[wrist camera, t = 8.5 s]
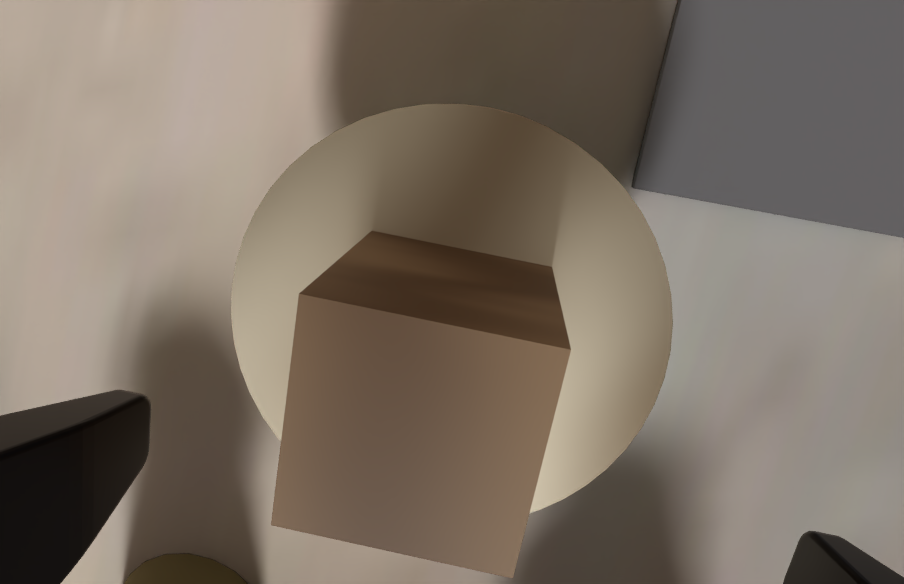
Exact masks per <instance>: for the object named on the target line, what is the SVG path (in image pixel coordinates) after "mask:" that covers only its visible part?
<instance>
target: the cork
mask: <svg viewBox="0 0 904 584" xmlns="http://www.w3.org/2000/svg"><path fill="white" fill-rule="evenodd" d="M125 584H247V583H246V582H245V581H244V580H243V579H242V578H241V577H240V576H239V575H238V574H237V573H236V572H235V571H233V570H231V569H229V568H227V567H225V566H224V565H222V564H220V563H218V562H216V561H214V560H212V559H208V558H204V557H200V556H196V555H192V554H165V555H162V556H159V557H157V558H154V559H151V560H148V561H145V562H144V563H143V564H142V565H140V566H139V567H138V568H137V569H136V570H134V571H133V572H132V573H131V574H130V575H129V577H128V579H127V580H126V582H125Z"/></svg>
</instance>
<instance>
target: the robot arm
mask: <svg viewBox="0 0 904 584" xmlns="http://www.w3.org/2000/svg"><path fill="white" fill-rule="evenodd" d="M150 418H151V404H150V400H149V399H148V397H147V396H146V395H143V394H139V393H134V392H129V391H124V390H114V391H110V392H105V393H101V394H96V395H92V396H87V397H83V398H78V399H73V400H69V401H64V402H60V403H55V404H51V405H46V406H42V407H37V408H33V409H28V410H24V411H19V412H14V413H10V414H5V415H1V416H0V584H60V583H61V582H62V581H63V580H64V579H65V577H66V576H67V575H68V574H69V573H70V571H71V570H72V569H73V568H74V566H75V565H76V564H77V563H78V561H79V560H80V559H81V557H82V556H83V555H84V553H85V552H86V551H87V549H88V548H89V546H90V545H91V544H92V542H93V541H94V539H95V538H96V536H97V535H98V533H99V532H100V530H101V529H102V527H103V526H104V524H105V523H106V521H107V520H108V518H109V517H110V515H111V514H112V512H113V511H114V509H115V508H116V506H117V505H118V503H119V502H120V500H121V499H122V497H123V496H124V494H125V493H126V491H127V490H128V488H129V487H130V485H131V484H132V482H133V481H134V479H135V478H136V476H137V475H138V473H139V472H140V470H141V469H142V467H143V466H144V464H145V462H146V459H147V456H148V452H149V443H150ZM783 584H904V577H902V576H901V575H899V574H897V573H896V572H894V571H893V570H891V569H890V568H888V567H887V566H885V565H883V564H882V563H880V562H879V561H877V560H876V559H874V558H873V557H871V556H869V555H868V554H866V553H865V552H863V551H862V550H860V549H859V548H857V547H856V546H854V545H852V544H851V543H849V542H848V541H846V540H845V539H843V538H841V537H839V536H835V535H831V534H826V533H821V532H816V531H808V532H806V533H804V534H803V535H802V536H801V538H800V540H799V542H798V545H797V547H796V550H795V552H794V555H793V558H792V560H791V563H790V565H789V568H788V571H787V573H786V576H785V579H784V582H783Z"/></svg>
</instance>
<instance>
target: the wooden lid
mask: <svg viewBox="0 0 904 584" xmlns="http://www.w3.org/2000/svg"><path fill="white" fill-rule="evenodd" d="M231 321H232V330H233V338H234V345H235V349H236V353H237V357H238V361H239V365H240V369H241V372H242V374H243V377H244V379H245V382H246V384H247V387H248V390H249V392H250V394H251V396H252V398H253V400H254V402H255V404H256V406H257V407H258V409H259V411H260V413H261V415H262V417H263V418H264V419H265V421H266V422H267V424H268V425H269V427H270V428H271V429H272V431H273V432H274V434H275V435H276V437H277V438H278V439H279V440H280V441H281V446H280V455H279V463H278V471H277V479H276V488H275V496H274V504H273V513H272V521H271V525H273V526H277V527H282V528H286V529H291V530H295V531H300V532H305V533H309V534H314V535H318V536H323V537H327V538H332V539H336V540H341V541H345V542H350V543H354V544H359V545H364V546H368V547H373V548H377V549H382V550H386V551H391V552H395V553H400V554H404V555H409V556H413V557H418V558H423V559H427V560H432V561H436V562H441V563H445V564H450V565H454V566H459V567H463V568H468V569H472V570H477V571H482V572H486V573H491V574H495V575H500V576H504V577H509V578H513V576H514V572H515V568H516V564H517V560H518V556H519V552H520V548H521V544H522V541H523V537H524V533H525V529H526V525H527V521H528V517H529V513H532V512H535V511H538V510H541V509H543V508H545V507H547V506H549V505H552V504H554V503H556V502H558V501H561V500H563V499H565V498H566V497H568V496H570V495H571V494H573V493H574V492H576V491H578V490H579V489H581V488H583V487H584V486H586V485H587V484H589V483H590V482H591V481H592V480H594V479H595V478H596V477H597V476H599V475H600V474H601V473H602V472H604V471H605V470H606V469H607V468H608V467H609V466H610V465H611V464H612V463H613V462H614V461H615V460H616V459H617V458H618V457H619V456H620V455H621V454H622V453H623V452H624V451H625V450H626V448H627V447H628V446H629V444H630V443H631V442H632V440H633V439H634V437H635V436H636V435H637V433H638V432H639V431H640V429H641V428H642V426H643V424H644V423H645V421H646V419H647V417H648V415H649V413H650V412H651V410H652V408H653V406H654V404H655V402H656V399H657V396H658V394H659V391H660V389H661V386H662V383H663V381H664V378H665V373H666V369H667V364H668V360H669V356H670V351H671V339H672V327H673V319H672V302H671V292H670V287H669V282H668V277H667V272H666V267H665V264H664V261H663V258H662V256H661V253H660V250H659V247H658V244H657V242H656V239H655V237H654V235H653V233H652V231H651V229H650V227H649V225H648V223H647V222H646V220H645V218H644V216H643V214H642V212H641V210H640V209H639V208H638V206H637V205H636V204H635V202H634V201H633V199H632V198H631V197H630V195H629V194H628V192H627V191H626V190H625V188H624V187H623V186H622V185H621V184H620V183H619V182H618V181H617V179H616V178H615V177H614V176H613V175H612V174H611V173H610V172H609V171H608V170H607V169H606V168H605V167H604V166H603V165H602V164H601V163H600V162H599V161H597V160H596V159H595V158H593V157H592V156H591V155H590V154H588V153H587V152H586V151H585V150H583V149H582V148H581V147H580V146H578V145H577V144H576V143H574V142H572V141H571V140H569V139H567V138H565V137H564V136H562V135H560V134H559V133H557V132H555V131H554V130H552V129H550V128H548V127H547V126H544V125H542V124H540V123H537V122H535V121H532V120H530V119H528V118H525V117H523V116H520V115H517V114H514V113H510V112H506V111H502V110H498V109H495V108H491V107H483V106H475V105H467V104H423V105H416V106H410V107H403V108H397V109H392V110H389V111H386V112H382V113H379V114H376V115H372V116H369V117H366V118H363V119H361V120H359V121H357V122H354V123H352V124H350V125H348V126H346V127H343V128H341V129H339V130H337V131H335V132H334V133H332V134H331V135H329V136H328V137H326V138H324V139H323V140H321V141H320V142H318V143H317V144H315V145H314V146H312V147H311V148H310V149H309V150H307V151H306V152H305V153H304V154H303V155H302V156H300V157H299V158H298V159H297V160H296V161H295V162H293V163H292V164H291V165H290V166H289V167H288V168H287V169H286V171H285V172H284V173H283V174H282V175H281V176H280V177H279V179H278V180H277V181H276V182H275V183H274V184H273V185H272V187H271V188H270V189H269V191H268V193H267V194H266V196H265V197H264V199H263V200H262V202H261V203H260V205H259V206H258V208H257V210H256V211H255V213H254V215H253V218H252V220H251V222H250V224H249V226H248V228H247V230H246V233H245V235H244V237H243V241H242V244H241V247H240V250H239V254H238V257H237V260H236V265H235V271H234V277H233V284H232V293H231Z"/></svg>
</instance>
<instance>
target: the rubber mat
mask: <svg viewBox="0 0 904 584" xmlns="http://www.w3.org/2000/svg"><path fill="white" fill-rule="evenodd" d="M632 187H633V188H635V189H641V190H646V191H652V192H657V193H663V194H668V195H674V196H679V197H684V198H690V199H695V200H701V201H706V202H712V203H717V204H723V205H728V206H733V207H739V208H744V209H750V210H755V211H761V212H766V213H772V214H777V215H783V216H788V217H793V218H799V219H804V220H810V221H815V222H821V223H826V224H832V225H837V226H842V227H848V228H853V229H859V230H864V231H870V232H875V233H881V234H886V235H891V236H897V237H902V238H904V0H678V4H677V8H676V12H675V16H674V20H673V24H672V28H671V32H670V36H669V40H668V44H667V48H666V52H665V56H664V60H663V63H662V67H661V71H660V75H659V79H658V83H657V87H656V91H655V95H654V99H653V103H652V107H651V111H650V115H649V119H648V123H647V127H646V131H645V135H644V139H643V143H642V147H641V151H640V155H639V159H638V163H637V167H636V171H635V175H634V179H633V183H632Z"/></svg>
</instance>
